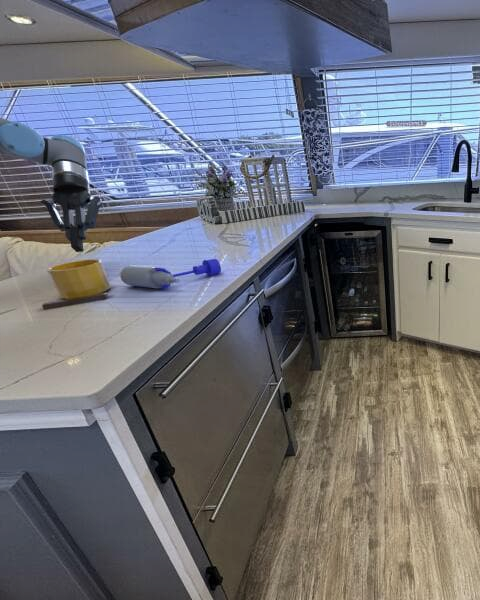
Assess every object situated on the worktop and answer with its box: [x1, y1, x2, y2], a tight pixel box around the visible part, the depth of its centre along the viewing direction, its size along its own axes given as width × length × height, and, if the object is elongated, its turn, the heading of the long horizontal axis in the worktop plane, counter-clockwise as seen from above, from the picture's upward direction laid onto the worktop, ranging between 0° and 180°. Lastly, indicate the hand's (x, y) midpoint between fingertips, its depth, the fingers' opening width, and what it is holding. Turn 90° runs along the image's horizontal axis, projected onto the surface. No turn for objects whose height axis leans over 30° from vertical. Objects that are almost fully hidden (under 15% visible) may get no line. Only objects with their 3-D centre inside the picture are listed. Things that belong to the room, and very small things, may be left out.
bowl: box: [46, 258, 112, 299], centre depth 85 cm, size 10×10×8 cm
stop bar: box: [41, 292, 109, 310], centre depth 80 cm, size 12×2×1 cm, turn 119°
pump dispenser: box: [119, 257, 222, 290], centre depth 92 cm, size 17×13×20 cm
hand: (77, 249), depth 87 cm, fingers closed
